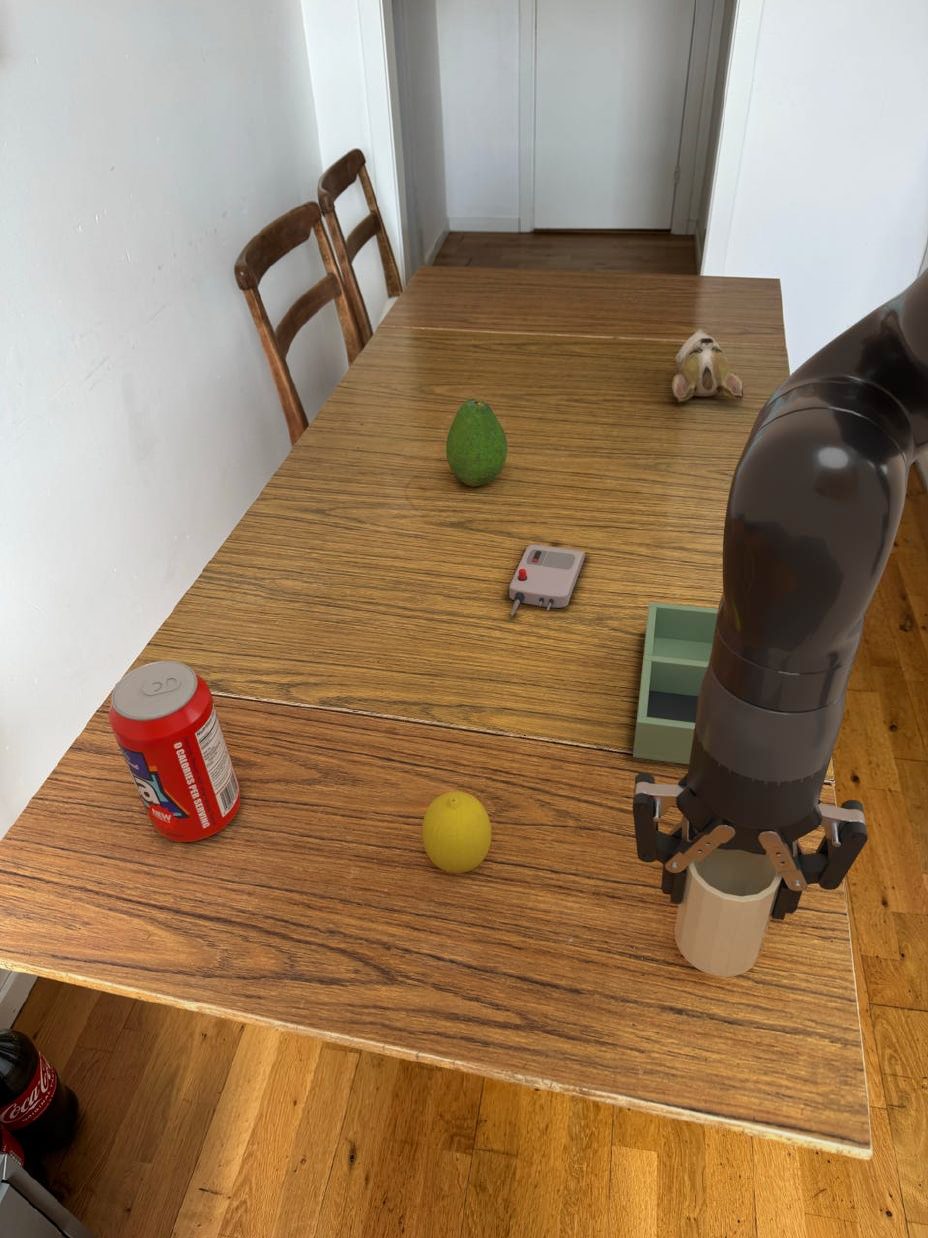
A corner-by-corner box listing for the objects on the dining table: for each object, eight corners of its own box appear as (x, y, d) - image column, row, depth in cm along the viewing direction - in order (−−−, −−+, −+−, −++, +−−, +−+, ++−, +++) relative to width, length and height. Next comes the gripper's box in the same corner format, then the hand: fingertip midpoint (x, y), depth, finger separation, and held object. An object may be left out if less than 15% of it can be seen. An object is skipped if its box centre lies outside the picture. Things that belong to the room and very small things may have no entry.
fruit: (492, 462, 124) (490, 381, 117) (517, 488, 119) (517, 405, 111) (439, 475, 122) (433, 394, 114) (462, 503, 116) (458, 418, 109)
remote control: (587, 549, 107) (589, 528, 105) (558, 630, 95) (559, 608, 94) (534, 541, 109) (534, 521, 107) (498, 620, 97) (498, 598, 95)
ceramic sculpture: (736, 317, 138) (753, 362, 127) (728, 369, 144) (744, 416, 133) (666, 319, 139) (677, 364, 128) (661, 371, 145) (671, 418, 134)
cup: (774, 928, 64) (797, 851, 58) (739, 993, 60) (759, 917, 55) (697, 887, 67) (711, 809, 61) (659, 947, 63) (670, 870, 58)
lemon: (451, 825, 76) (446, 762, 71) (505, 855, 73) (504, 792, 68) (411, 871, 73) (403, 808, 68) (467, 904, 70) (462, 841, 65)
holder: (736, 771, 79) (744, 735, 76) (632, 757, 81) (636, 721, 78) (734, 645, 92) (741, 610, 89) (645, 635, 94) (649, 601, 91)
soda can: (250, 831, 76) (212, 706, 67) (157, 860, 74) (104, 736, 65) (235, 767, 82) (198, 644, 73) (148, 792, 80) (99, 669, 71)
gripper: (630, 760, 49) (614, 931, 59) (913, 795, 46) (843, 969, 56) (639, 669, 54) (623, 840, 65) (891, 695, 51) (832, 870, 62)
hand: (726, 899), depth 61 cm, fingers closed on cup, 6 cm apart
